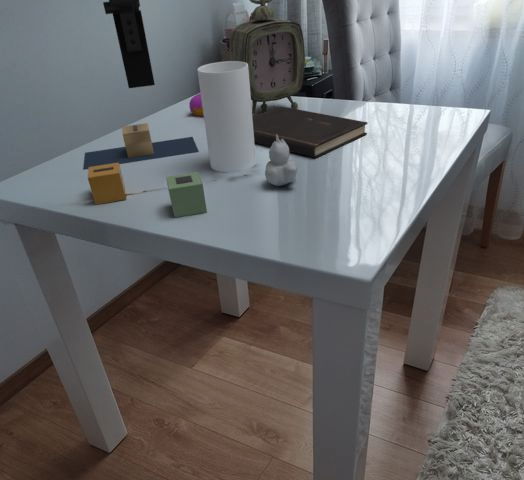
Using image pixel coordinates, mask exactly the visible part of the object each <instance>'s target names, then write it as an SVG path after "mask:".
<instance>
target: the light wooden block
mask: <svg viewBox="0 0 524 480" xmlns="http://www.w3.org/2000/svg"><path fill="white" fill-rule="evenodd" d="M121 132H122V138H123V142H124V147H126V151H127V155H128V158H132V157H139V156H145V155H152V154H154V151H153V146H152V143H153V141H152V138H151V137H152V136H151V132H150V127H149V123H148V122H145V123H137V124H131V125H123V126H121Z"/></svg>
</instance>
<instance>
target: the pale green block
mask: <svg viewBox="0 0 524 480" xmlns="http://www.w3.org/2000/svg"><path fill="white" fill-rule="evenodd" d="M165 179H166V185H167V189H168V194H169V199H170V204H171V205H170V206H171V208H172V212H173V216H174V218H181V217H186V216H192V215H198V214H205V213H207V212H208V209H207V204H206V197H205V196H206V195H205V190H204V184H203V181H202V178H201V176H200V173H199V171H195V172H189V173H183V174H176V175H170V176H166V177H165Z"/></svg>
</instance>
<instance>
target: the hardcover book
mask: <svg viewBox="0 0 524 480" xmlns="http://www.w3.org/2000/svg"><path fill="white" fill-rule="evenodd" d="M252 119H253V132H254V144H258V145H262V146H266V147H270V148H271V147H272V143H274V141H276V134H277V135H278V138H279V140H281V139H283V140H284V141H285V143H286V144H287V145H288V147H289V153H290V152H291V153H294V154H297V155H298V154H299V155H302V156H307V157H310V158H313V159H317V158H320V157H321V156H324V155H326V154H328V153H330V152H333V151H334V150H337V149H339V148H341V147H343V146H345V145H348V144H350V143H352V142H354V141H356V140H358V139H361V138H363V137H365V136H366V135H368V133H367V132H365V131H366V125H368V123H369V122H367V121H363V120H358V119H357V120H356V119H351V118H347V117H342V116H341V117H340V116H335V115H330V114H325V113H320V112H315V111H310V110H309V111H308V110H303V109H298V108H297V109H293V108H291V107H287V106H282V105H281V106H278V107H275V108H272V109H269V110H266V111H263V112H261V113H258V114H257V115H256V116H253V117H252Z"/></svg>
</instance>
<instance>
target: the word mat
mask: <svg viewBox="0 0 524 480" xmlns="http://www.w3.org/2000/svg"><path fill="white" fill-rule="evenodd" d="M152 146H153V151H154V154H152V155H145V156H139V157H132V158H128V155H127V151H126V147H125V146H121V147H113V148H108V149H101V150H94V151H93V150H92V151H88V152H84V157H83V167H82V170H83V171H85V170H88V168H89V167H93V166H99V165H106V164H112V163H119V165H124V164H130V163H136V162H143V161H149V160H155V159H157V160H158V159H161V158H168V157H170V158H171V157H177V156H182V155H188V154H194V153H195V154H196V153H200V151H199V148H198V146H197V143H196V141H195V139H194V137H193V136H188V137H181V138H174V139H168V140H161V141H154V142H153V141H152Z"/></svg>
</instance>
